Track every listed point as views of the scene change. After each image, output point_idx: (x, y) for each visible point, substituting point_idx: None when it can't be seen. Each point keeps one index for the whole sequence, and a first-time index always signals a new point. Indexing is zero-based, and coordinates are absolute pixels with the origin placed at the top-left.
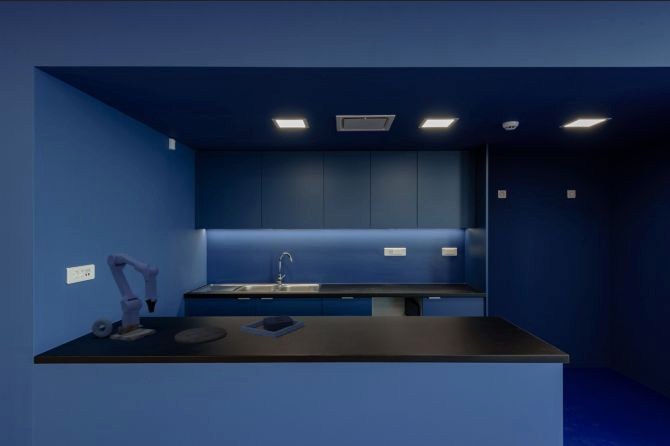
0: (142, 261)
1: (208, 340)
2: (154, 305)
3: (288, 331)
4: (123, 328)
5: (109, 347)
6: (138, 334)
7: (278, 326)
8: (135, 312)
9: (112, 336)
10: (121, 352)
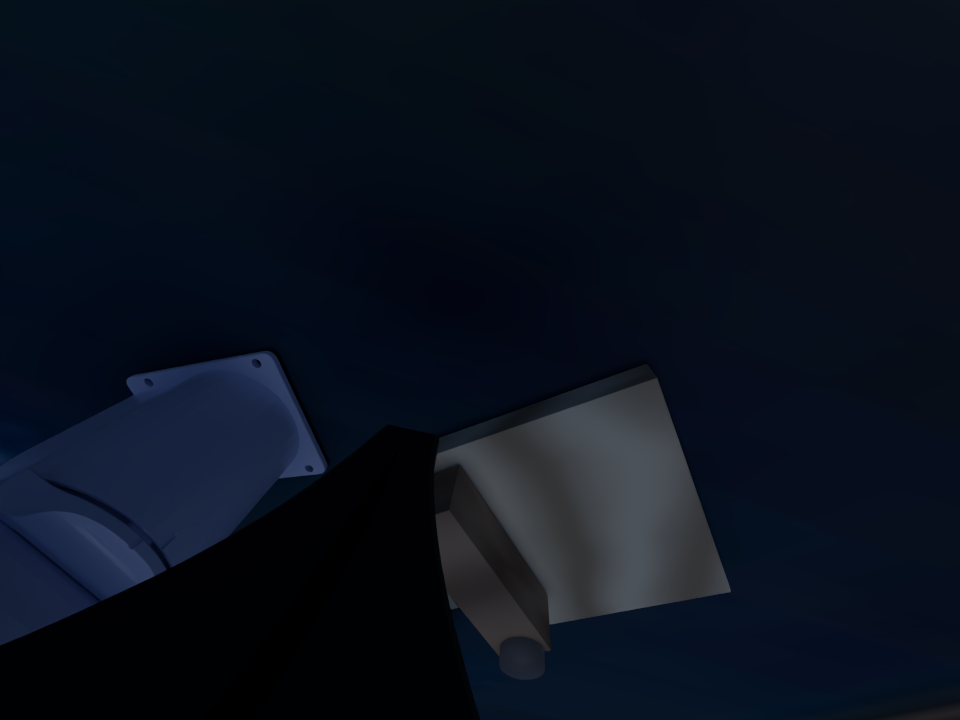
0: None
1: None
2: (441, 591)
3: None
4: (544, 640)
5: (711, 671)
6: (666, 533)
7: None
8: (149, 546)
9: None
10: (914, 681)
